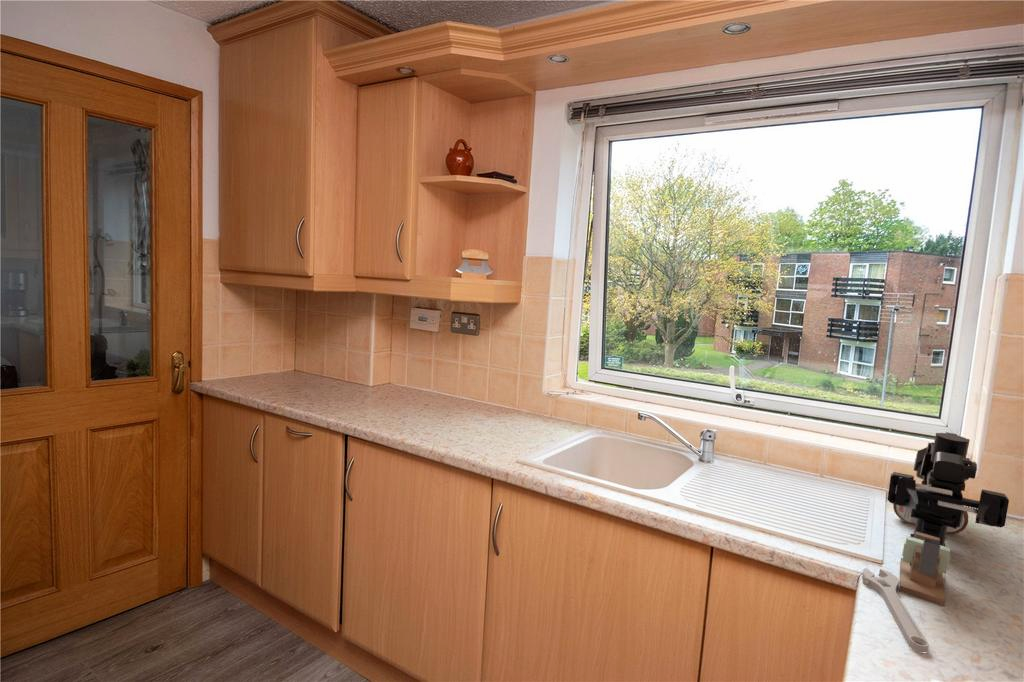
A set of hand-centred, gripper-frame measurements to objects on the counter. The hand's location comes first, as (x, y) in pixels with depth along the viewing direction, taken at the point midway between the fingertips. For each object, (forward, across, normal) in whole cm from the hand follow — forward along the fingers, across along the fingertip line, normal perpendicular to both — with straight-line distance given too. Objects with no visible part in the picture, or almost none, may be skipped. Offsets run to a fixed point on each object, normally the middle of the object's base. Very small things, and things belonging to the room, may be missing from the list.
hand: (946, 513), depth 107 cm
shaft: (-1, -2, +11) cm, 11 cm away
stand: (-3, -2, +16) cm, 17 cm away
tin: (-37, -1, +18) cm, 41 cm away
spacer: (-4, -2, +13) cm, 14 cm away
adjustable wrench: (+12, -7, +16) cm, 21 cm away
